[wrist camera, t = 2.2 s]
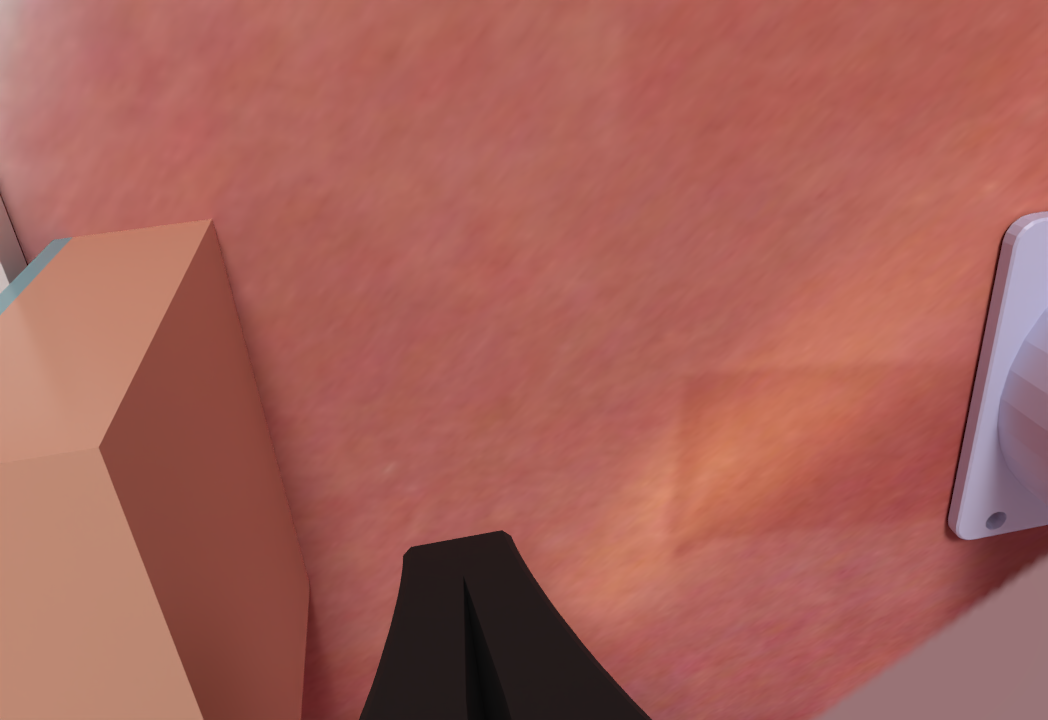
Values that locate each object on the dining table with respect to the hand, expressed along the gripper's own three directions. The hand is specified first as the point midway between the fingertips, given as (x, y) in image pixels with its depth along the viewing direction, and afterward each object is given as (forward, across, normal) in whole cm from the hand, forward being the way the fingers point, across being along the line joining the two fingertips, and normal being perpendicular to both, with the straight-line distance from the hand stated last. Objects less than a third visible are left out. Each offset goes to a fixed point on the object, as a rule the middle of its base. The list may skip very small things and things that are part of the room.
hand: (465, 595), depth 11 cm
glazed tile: (+6, +4, 0) cm, 7 cm away
